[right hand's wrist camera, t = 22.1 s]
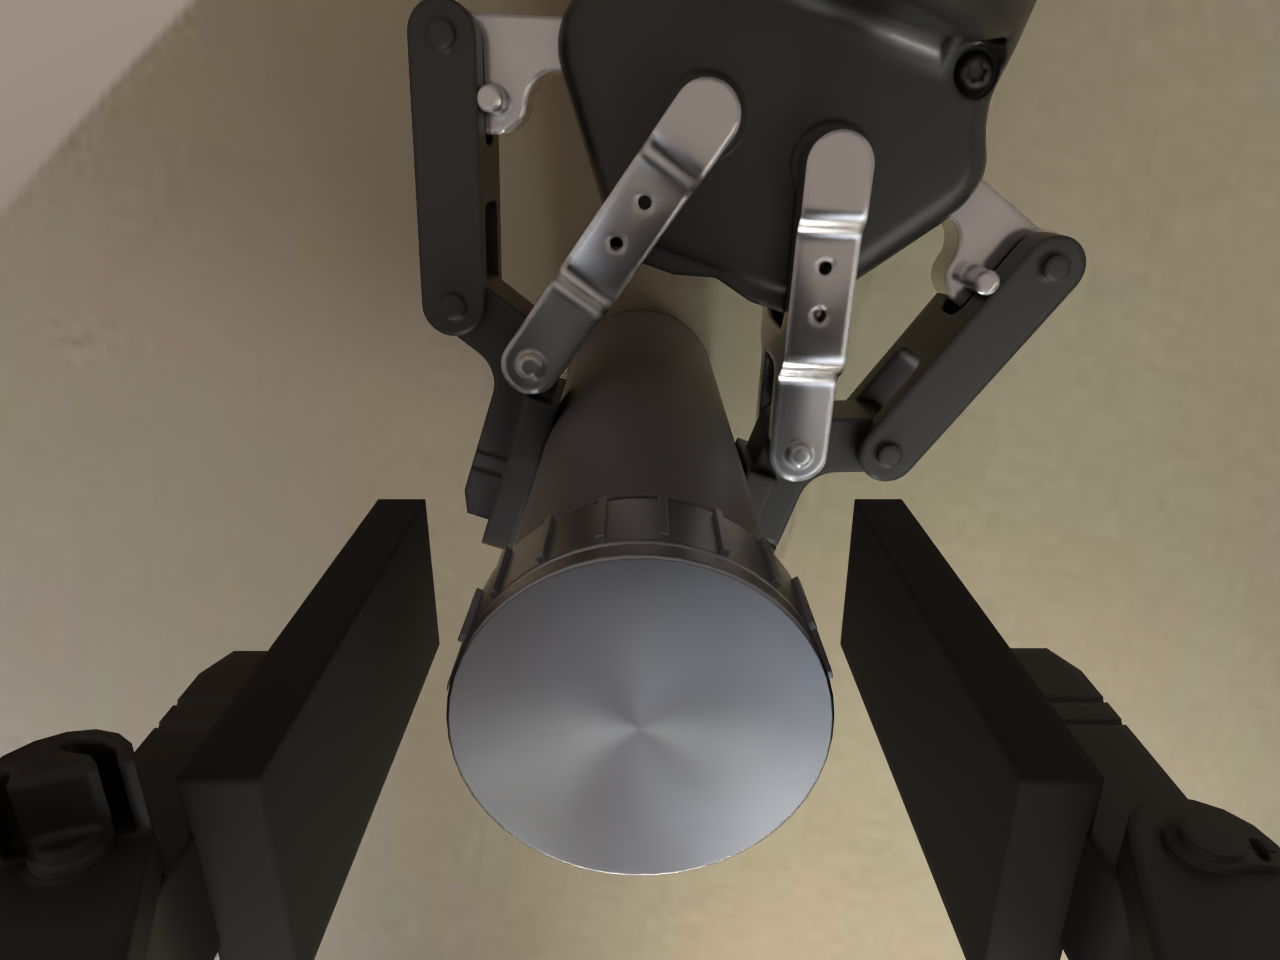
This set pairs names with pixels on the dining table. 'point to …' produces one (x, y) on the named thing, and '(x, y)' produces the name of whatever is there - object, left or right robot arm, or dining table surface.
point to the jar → (640, 427)
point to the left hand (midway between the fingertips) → (604, 562)
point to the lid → (640, 689)
